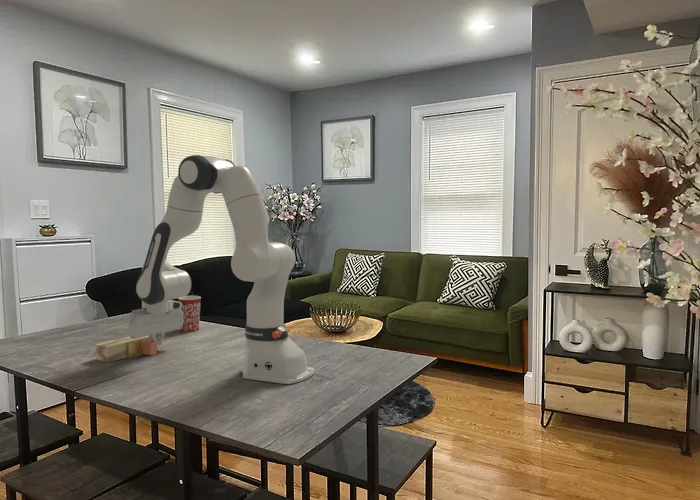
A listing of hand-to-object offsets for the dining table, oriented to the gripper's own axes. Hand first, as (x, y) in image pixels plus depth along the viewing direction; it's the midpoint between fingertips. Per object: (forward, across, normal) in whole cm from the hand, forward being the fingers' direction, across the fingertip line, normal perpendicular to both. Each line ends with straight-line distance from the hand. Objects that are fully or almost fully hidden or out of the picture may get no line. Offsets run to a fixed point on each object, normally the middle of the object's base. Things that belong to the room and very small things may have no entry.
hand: (156, 345), depth 168 cm
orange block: (+2, -3, 0) cm, 4 cm away
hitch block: (+2, -8, +6) cm, 11 cm away
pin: (+2, -7, +10) cm, 13 cm away
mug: (+2, +29, +18) cm, 34 cm away
